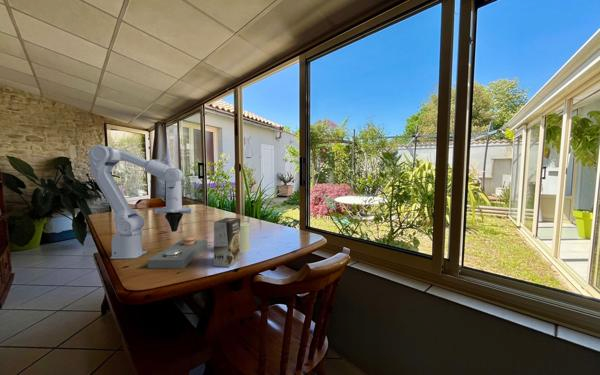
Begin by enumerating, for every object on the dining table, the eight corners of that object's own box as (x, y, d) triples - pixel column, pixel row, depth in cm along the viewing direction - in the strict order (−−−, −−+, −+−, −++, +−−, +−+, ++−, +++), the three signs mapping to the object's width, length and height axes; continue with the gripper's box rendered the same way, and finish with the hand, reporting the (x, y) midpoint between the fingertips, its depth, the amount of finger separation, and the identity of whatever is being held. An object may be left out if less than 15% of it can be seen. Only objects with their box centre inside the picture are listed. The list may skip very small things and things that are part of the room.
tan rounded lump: (179, 249, 101) (179, 239, 101) (185, 245, 106) (185, 236, 106) (192, 249, 101) (192, 239, 101) (197, 245, 106) (197, 236, 106)
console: (147, 268, 84) (147, 259, 84) (180, 247, 109) (180, 240, 109) (183, 268, 85) (182, 259, 84) (207, 246, 109) (207, 240, 109)
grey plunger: (162, 264, 87) (161, 253, 87) (169, 259, 92) (169, 249, 92) (176, 264, 87) (176, 253, 87) (183, 259, 92) (183, 249, 92)
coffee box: (229, 267, 85) (229, 222, 85) (213, 266, 87) (212, 221, 86) (241, 259, 94) (241, 217, 94) (225, 257, 96) (225, 217, 95)
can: (252, 247, 109) (252, 221, 109) (244, 254, 100) (244, 225, 100) (233, 246, 111) (233, 220, 110) (223, 252, 102) (223, 224, 101)
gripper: (149, 198, 94) (150, 233, 95) (188, 199, 95) (188, 233, 95) (159, 197, 101) (160, 229, 102) (195, 197, 102) (195, 229, 102)
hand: (174, 231), depth 99 cm, fingers closed
